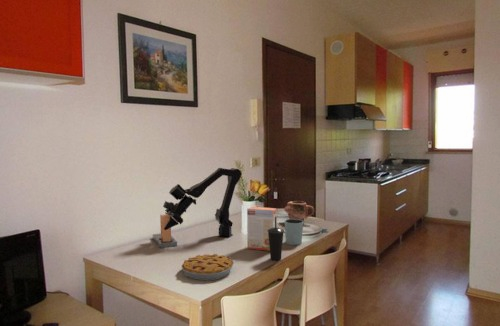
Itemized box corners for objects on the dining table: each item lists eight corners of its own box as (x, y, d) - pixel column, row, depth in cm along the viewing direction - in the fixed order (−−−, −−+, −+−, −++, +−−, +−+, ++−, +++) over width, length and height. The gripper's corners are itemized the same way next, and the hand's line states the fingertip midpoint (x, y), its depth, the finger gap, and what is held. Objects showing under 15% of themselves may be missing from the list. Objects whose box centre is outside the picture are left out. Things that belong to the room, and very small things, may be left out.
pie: (240, 265, 163) (240, 254, 163) (222, 284, 142) (222, 272, 142) (196, 260, 170) (195, 250, 169) (172, 278, 149) (171, 266, 148)
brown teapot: (315, 221, 242) (315, 201, 241) (313, 226, 231) (313, 204, 230) (286, 219, 248) (286, 199, 247) (282, 224, 237) (282, 202, 236)
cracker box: (277, 248, 187) (277, 207, 185) (273, 251, 181) (273, 210, 179) (251, 245, 192) (251, 206, 190) (247, 248, 186) (246, 208, 185)
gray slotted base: (152, 238, 206) (152, 234, 206) (168, 236, 210) (168, 232, 210) (159, 248, 188) (159, 244, 188) (177, 245, 192) (176, 241, 192)
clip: (160, 238, 198) (160, 214, 197) (168, 237, 199) (167, 214, 198) (163, 242, 191) (162, 217, 190) (171, 241, 193) (170, 216, 192)
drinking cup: (266, 256, 174) (266, 215, 172) (282, 256, 175) (282, 214, 173) (268, 262, 166) (268, 218, 165) (285, 261, 167) (285, 218, 165)
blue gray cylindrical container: (292, 239, 203) (292, 217, 202) (307, 242, 196) (307, 220, 195) (280, 242, 196) (280, 220, 195) (295, 246, 189) (295, 224, 188)
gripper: (168, 193, 204) (148, 214, 200) (176, 198, 187) (155, 222, 183) (182, 206, 208) (163, 227, 204) (191, 212, 191) (171, 235, 187)
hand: (163, 227), depth 194 cm, fingers closed on clip, 7 cm apart
